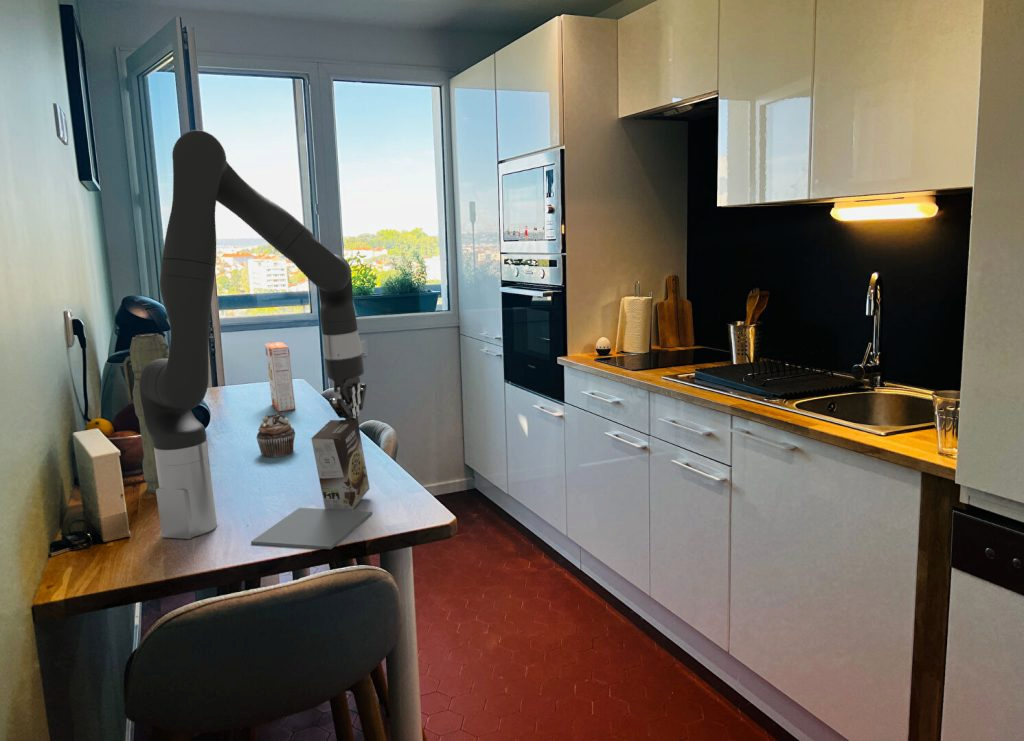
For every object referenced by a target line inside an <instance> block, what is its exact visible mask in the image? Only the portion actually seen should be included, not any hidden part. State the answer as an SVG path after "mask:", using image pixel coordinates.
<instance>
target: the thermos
mask: <svg viewBox="0 0 1024 741" xmlns="http://www.w3.org/2000/svg"><path fill="white" fill-rule="evenodd" d="M168 348H169V347H168V344H167V342H166V340H165V339H164V336H163V335H162V334H159V333H142V334H137V335H135V336H134V337H132V338H131V342H130V347H129V354H130V355H128V356H126V357H125V359H124V361H123V362H122V366H123V367H122V368H123V372H124V373H123V374H124V380H125V389H126V393H127V394H126V395H127V398H128V402H129V403H132V405H133V406H134V413H135V416H136V417H137V418H138V423H139V425H138V426H139V430H140V431H139V432H140V436H141V437H140V438H141V444H142V452H143V459H142V470H143V479H144V481H145V483H146V484H145V485H146V491H147V493H150V494H156V490H157V489H158V488H159V482H158V474H157V467H156V459H155V452H154V446H153V440H152V438H151V436H150V434H149V433H148V431H147V428H146V424H145V419H144V414H143V408H142V403H141V397H140V388H139V384H140V377H141V374H142V371H143V369H144V368H145V367H146V366H147V365H148V364H149V363H150V362H152V361H154V360H157V359H168V357H169V349H168ZM130 363H131V364H130ZM131 368H132V371H131ZM132 373H133V374H134V375H133V376H134V377H133V379H132ZM133 383H134V384H133Z"/></svg>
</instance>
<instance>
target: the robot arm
mask: <svg viewBox="0 0 1024 741" xmlns="http://www.w3.org/2000/svg"><path fill="white" fill-rule="evenodd" d="M171 157H172V176H173V178H172V179H173V180H172V203H171V210H170V214H169V219H168V222H167V228H166V232H165V238H164V239H165V240H164V244H163V252H162V258H161V267H160V274H159V275H160V276H159V289H160V290H159V291H160V295H161V299H162V302H163V306H164V308H165V311H166V312H165V313H166V316H167V319H168V322H169V328H170V329H169V330H170V341H169V342H170V343H169V349H168V354H169V357H168V359H157V360H154V361H152V362H150V363H149V364H148V365H147V366H146V367H145V368H144V369H143V371H142V374H141V377H140V384H139V388H140V397H141V403H142V408H143V414H144V419H145V424H146V428H147V431H148V433H149V434H150V436H151V438H152V440H153V446H154V452H155V459H156V467H157V474H158V482H159V488H158V489H157V490H156V493H155V494H156V503H157V510H158V516H159V523H160V530H161V537H162V538H167V539H168V538H169V539H182V540H184V539H186V540H191V539H192V538H194V537H197V536H201V535H204V534H207V533H210V532H211V531H213V530H214V529H216V527H217V525H218V522H217V513H216V504H215V503H216V502H215V498H214V489H213V480H212V472H211V464H210V457H209V447H208V441H207V431H206V427H205V425H204V424H202V423H201V421H199V420H198V419H197V418H196V417H195V415H194V413H193V411H192V410H193V409H195V408H196V407H198V406H199V405H200V404H201V403H202V402H203V400H204V399H205V396H206V394H207V391H208V387H209V376H210V372H209V371H210V370H209V366H210V365H209V363H210V362H209V338H210V336H209V334H210V324H211V311H212V309H211V308H212V300H213V291H214V286H215V285H214V284H215V276H216V265H217V228H216V206H217V202H218V203H219V204H221V205H222V206H224V207H225V208H226V209H227V210H229V211H230V212H231V213H233V214H234V215H236V216H237V217H238V218H239V219H240V220H242V221H243V222H244V223H245V224H246V225H247V226H249V228H251V229H252V230H254V232H255V233H256V234H258V235H259V236H260V237H261V238H262V239H263V240H265V241H266V242H267V243H268V244H270V245H271V246H272V247H273V248H274V249H275V250H276V251H277V252H278V253H280V254H281V255H283V257H285V258H286V259H288V260H289V261H290V262H292V263H293V264H294V265H295V266H296V267H297V269H298V270H300V271H301V273H302V274H303V275H304V276H305V277H306V278H307V279H309V281H310V282H311V283H312V284H314V285H315V286H316V287H317V288H318V292H319V293H318V294H319V299H320V309H319V310H320V311H319V318H320V325H321V332H322V350H323V356H324V363H325V370H326V376H327V378H328V379H329V380H332V381H333V392H334V397H333V398H329V400H328V403H329V405H330V407H331V408H332V410H334V413H335V414H336V415H337V417H338V418H339V419H344V420H358V425H359V426H360V422H359V416H360V411H363V409H364V402H365V399H366V398H365V397H366V391H367V384H366V383H362V382H361V378H360V377H361V376H363V375H364V373H365V368H364V367H365V366H364V360H363V358H364V357H363V351H362V345H361V344H362V342H361V338H360V335H359V331H358V324H357V316H356V310H355V305H354V294H353V292H354V291H353V278H352V270H351V266H350V264H349V262H348V261H347V260H346V259H345V257H343V256H341V255H338V254H335V253H333V252H331V251H330V250H329V249H328V248H327V247H325V246H324V245H323V244H322V243H321V242H319V241H318V240H317V237H316V236H315V235H314V234H313V232H312V231H311V230H310V229H309V228H307V227H306V226H305V225H304V224H303V223H302V222H300V220H298V219H297V218H296V217H295V216H293V215H292V214H290V212H288V211H287V210H286V209H284V208H283V207H281V206H280V205H278V204H277V203H276V202H274V201H272V200H270V199H269V198H268V197H265V195H263V194H261V193H260V192H258V191H257V190H256V189H255V188H253V187H252V186H251V185H249V183H247V182H246V181H245V180H244V179H243V178H242V177H241V176H240V175H239V174H238V173H237V171H236V170H234V168H233V167H232V166H231V165H230V164H229V163H228V161H227V155H226V151H225V149H224V146H223V145H222V143H221V142H220V141H219V140H218V139H217V137H215V136H214V135H213V134H211V133H210V132H207V131H206V130H201V129H192V130H189V131H187V132H185V133H183V134H182V135H181V136H180V137H179V138H178V139H177V140H176V142H175V143H174V146H173V148H172V156H171ZM359 431H360V432H361V430H360V428H359Z"/></svg>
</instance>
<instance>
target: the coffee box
mask: <svg viewBox="0 0 1024 741" xmlns="http://www.w3.org/2000/svg"><path fill="white" fill-rule="evenodd" d="M358 421H359V419H358V420H345V419H337V420H336V419H330V420H329V421H328V422H327V423H326V424H324V426H323V427H322V428H320V430H319V431H317V432H316V433H315V434H314V435H313V436H312V437H311V438H310V439H311V443H312V449H313V454H314V460H315V464H316V469H317V474H318V480H319V485H320V490H321V495H322V501H323V506H324V509H334V510H353V511H354V509H355V507H356V506H357V505H358V504H359V502H360V501H361V500H362V499H363V498H364V496H365V495H367V493H368V492H369V490H370V489H371V488H370V483H369V475H368V470H367V465H366V461H365V460H366V459H365V455H364V448H363V442H362V437H361V430H360V431H359V429H360V424H359V425H358Z"/></svg>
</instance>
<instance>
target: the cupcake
mask: <svg viewBox="0 0 1024 741" xmlns="http://www.w3.org/2000/svg"><path fill="white" fill-rule="evenodd" d="M261 419H262V423H260V426H259V427H258V432H257V434H256V440H257V444H258V447H259V451H260V454H261V456H262V457H266V458H279V457H284V456H288V455H290V454H292V453H294V442H295V437H296V432H295V428H294V427H292V425H291V423H290V421H289V418H287V417H286V415H284V414H283V413H282V412H278V413H275V414H269V415H268V414H266V415H265V416H263V417H262V418H261Z"/></svg>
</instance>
